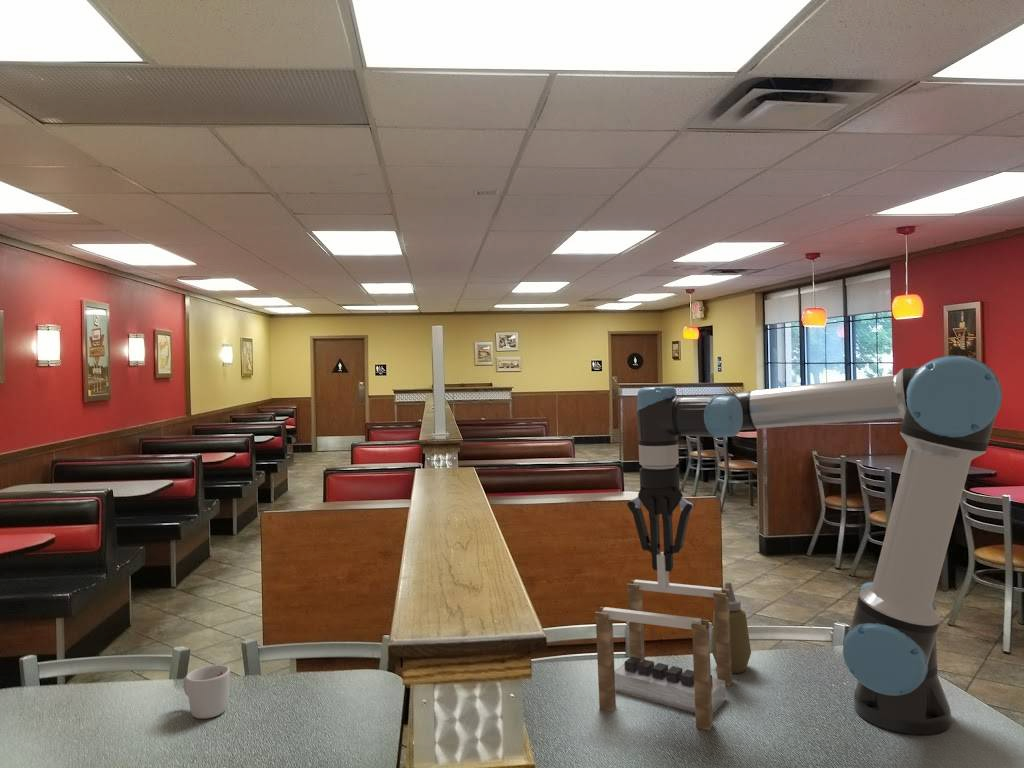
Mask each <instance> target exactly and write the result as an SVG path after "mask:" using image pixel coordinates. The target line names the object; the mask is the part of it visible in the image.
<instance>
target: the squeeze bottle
mask: <svg viewBox="0 0 1024 768" xmlns="http://www.w3.org/2000/svg"><path fill="white" fill-rule="evenodd" d="M723 589H729V616H730V642H731V667H732V674H739V673H743V672H745V671H746V670H747V667H748V664H749V661H750V658H751V654H752V650H751V649H752V648H751V643H750V641H751V640H750V636H749V629H748V622H747V615H746V612H745V611H744V610H743V609H742V608H741V607H742V606H741V600H740V599H739V598H737V597H736V596H735V592H734V588H733V586H732V582H730V581H729V582H728V581H727V582H725V583H724V588H723ZM712 612H713V615H712V627H711V628H712V630H711V632H712V633H711V643H710V645H711V646H710V650H711V651H710V652H711V654H712V656H713V659H714V662H715V663H716V666H717V658H716V633H715V609H714V610H713V611H712Z"/></svg>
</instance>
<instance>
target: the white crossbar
mask: <svg viewBox="0 0 1024 768" xmlns="http://www.w3.org/2000/svg"><path fill="white" fill-rule="evenodd" d="M634 580H635V581H633V584H638V586H639V590H642V591H645V592H655V593H656V592H657V593H665V594H666V593H667V594H675V595H684V596H695V597H704V598H712V599H714V595H713V593H714V592H717V593H722V589H723V588H722V587H714V586H713V587H712V586H704V585H694V584H692V585H691V584H684V583H683V584H682V583H673V582H669V586H668V587H667V588H666V589H658V581H654V580H644V579H634Z"/></svg>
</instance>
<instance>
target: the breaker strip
mask: <svg viewBox="0 0 1024 768" xmlns="http://www.w3.org/2000/svg"><path fill="white" fill-rule="evenodd" d="M614 671H615V692H616V693H617V692H618V693H621V694H625V695H628V696H632V697H635V698H640V699H643V700H646V701H650V702H654V703H656V704H657V703H658V704H662V705H665V706H669V707H673V708H675V709H676V708H677V709H680V710H683V711H687V712H691V713H695V689H694V670H691V669H686V670H683V668H682V667H678V666H675V665H674V666H673V665H672V666H671V667H669V664H666V663H661V662H658V663H656V664H655V661H653V660H648V659H645V660H644V661H641V660H640V658H636V657H629V658H628V659H626V660H625V661H624V663H623V664H622V665H620V666H619V667H618V668H616V669H614ZM726 691H727V690H726V685H725V681H724V680H720V679H717V677H716V678H715V677H713V675H712V674H711V694H712V715H713V714H714V713H715V712H716V711H717V710H718V708H720V706H721V705H722V704H723V703H724V702H725V701H726V700H727V698H726V696H727V695H726Z"/></svg>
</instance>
